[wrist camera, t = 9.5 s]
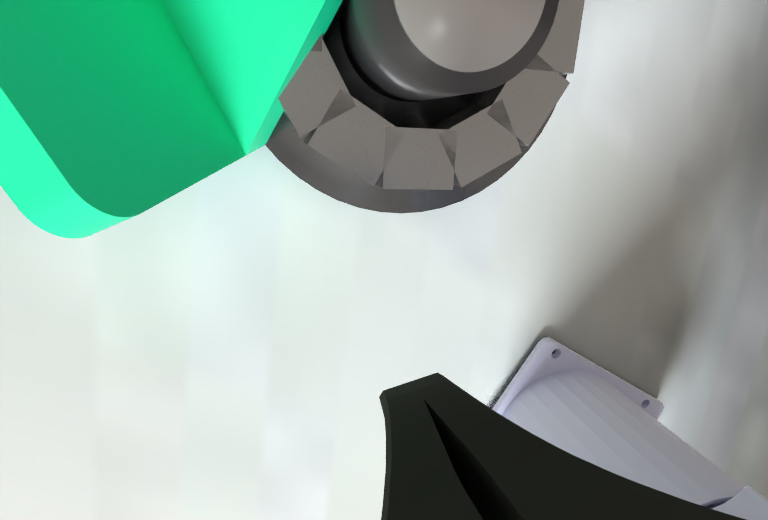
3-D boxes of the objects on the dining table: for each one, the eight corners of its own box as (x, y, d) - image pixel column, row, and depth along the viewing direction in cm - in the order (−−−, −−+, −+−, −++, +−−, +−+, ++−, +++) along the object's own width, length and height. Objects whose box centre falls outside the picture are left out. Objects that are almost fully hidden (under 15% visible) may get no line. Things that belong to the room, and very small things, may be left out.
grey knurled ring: (619, -10, 18) (682, -35, 15) (444, 262, 20) (472, 285, 17) (344, -297, 14) (363, -405, 11) (146, 87, 15) (118, 79, 12)
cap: (503, 6, 16) (601, -44, 11) (429, 129, 17) (493, 131, 12) (389, -94, 14) (448, -203, 10) (312, 47, 15) (331, 10, 10)
